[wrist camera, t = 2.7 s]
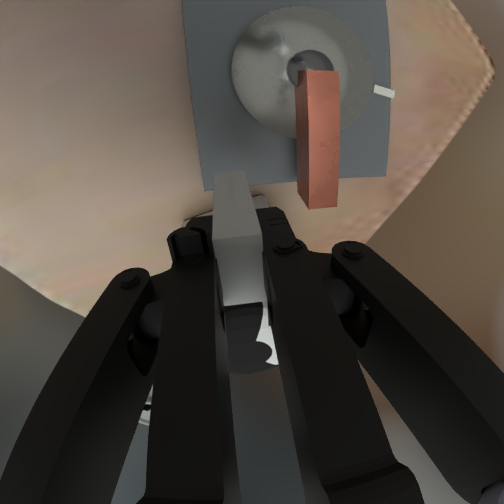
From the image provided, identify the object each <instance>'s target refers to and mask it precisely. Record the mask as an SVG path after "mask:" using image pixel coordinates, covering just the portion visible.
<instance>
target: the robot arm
mask: <svg viewBox="0 0 504 504" xmlns="http://www.w3.org/2000/svg"><path fill="white" fill-rule="evenodd" d="M167 242H168V246H169V250H170V254H171V257H172V261H173V262H172V267H171V269H169V270H167V271H165V272H163V273H160V274H157V275H154V276H151V277H150V275H149V272H148V271H147V270H145V269H143V268H130V269H126V270H124V271H122V272H121V273H119V274H117V275H116V276H115V277H114V278H113V279H112V281H111V282H110V284H109V285H108V286H107V288H106V289H105V291H104V292H103V293H102V295H101V296H100V298H99V299H98V300H97V302H96V303H95V305H94V306H93V308H92V309H91V311H90V312H89V314H88V315H87V317H86V318H85V320H84V321H83V323H82V324H81V326H80V327H79V329H78V330H77V332H76V333H75V335H74V337H73V338H72V340H71V341H70V343H69V344H68V346H67V348H66V350H65V351H64V353H63V354H62V356H61V358H60V359H59V361H58V363H57V364H56V366H55V368H54V370H53V371H52V373H51V375H50V376H49V378H48V380H47V382H46V384H45V385H44V387H43V389H42V391H41V393H40V394H39V396H38V398H37V400H36V402H35V404H34V406H33V408H32V410H31V412H30V414H29V416H28V418H27V420H26V422H25V424H24V426H23V428H22V430H21V432H20V434H19V436H18V439H17V441H16V443H15V445H14V448H13V450H12V452H11V455H10V457H9V459H8V462H7V464H6V467H5V469H4V472H3V474H2V477H1V480H0V504H111V500H112V497H113V494H114V491H115V488H116V485H117V482H118V479H119V476H120V473H121V470H122V467H123V464H124V461H125V458H126V456H127V452H128V450H129V447H130V444H131V441H132V439H133V436H134V433H135V430H136V428H137V425H138V422H139V419H140V417H141V414H142V411H143V409H144V406H145V403H146V401H147V398H148V396H149V393H150V390H151V388H152V385H153V390H152V400H151V410H150V422H149V435H148V451H147V472H146V490H145V494H144V496H143V497H142V498H141V499H140V500H139V501H138V502H137V503H136V504H242V502H241V493H240V484H239V476H238V466H237V456H236V446H235V435H234V425H233V414H232V401H231V389H230V376H229V362H228V348H227V332H226V316H225V311H224V306H230V305H238V304H246V303H254V302H262V301H266V297H267V308H268V326H271V330H272V335H273V340H274V345H275V349H276V354H277V359H278V364H279V369H280V374H281V379H282V383H283V389H284V394H285V398H286V404H287V409H288V414H289V418H290V424H291V429H292V433H293V439H294V444H295V449H296V453H297V459H298V463H299V469H300V474H301V479H302V484H303V488H304V493H305V500H306V504H424V500H423V497H422V494H421V491H420V487H419V484H418V482H417V480H416V478H415V476H414V474H413V473H412V471H411V470H410V469H409V468H408V467H407V466H405V465H403V464H401V463H399V462H398V461H397V460H396V458H395V457H394V455H393V453H392V450H391V447H390V444H389V441H388V438H387V436H386V433H385V430H384V427H383V425H382V422H381V419H380V416H379V414H378V411H377V408H376V406H375V403H374V401H373V398H372V395H371V393H370V390H369V388H368V385H367V383H366V380H365V378H364V375H363V373H362V370H361V368H360V365H359V363H358V360H359V362H360V363H361V365H362V366H363V367H364V368H365V370H366V371H367V372H368V374H369V375H370V376H371V378H372V379H373V380H374V382H375V383H376V384H377V386H378V387H379V388H380V390H381V391H382V392H383V394H384V395H385V397H386V398H387V399H388V400H389V402H390V403H391V405H392V406H393V407H394V409H395V410H396V411H397V413H398V414H399V415H400V417H401V418H402V419H403V421H404V422H405V424H406V425H407V426H408V428H409V429H410V430H411V432H412V433H413V435H414V436H415V437H416V439H417V440H418V441H419V443H420V444H421V446H422V447H423V448H424V450H425V451H426V453H427V454H428V455H429V457H430V458H431V460H432V461H433V462H434V464H435V465H436V467H437V468H438V469H439V471H440V472H441V473H442V475H443V476H444V478H445V479H446V481H447V482H448V483H449V484H450V485H451V487H452V488H453V489H454V491H455V492H456V493H458V494H459V495H460V496H461V497H462V498H463V499H464V500H465V501H467V502H469V503H470V504H504V373H503V372H502V371H501V370H500V369H499V368H498V367H497V366H496V365H495V363H494V362H493V361H492V360H491V359H490V358H489V357H488V356H487V355H486V354H485V353H484V352H483V351H482V350H481V349H480V348H479V347H478V346H477V345H476V344H475V342H473V340H471V339H470V337H469V336H467V334H466V333H465V332H464V331H462V330H461V329H460V327H458V326H457V325H456V324H455V323H454V322H453V321H452V320H451V319H450V318H449V317H448V316H447V315H446V314H445V313H444V312H443V311H442V310H441V309H439V308H438V307H437V306H436V305H435V304H434V303H433V302H432V301H431V300H430V299H429V298H428V297H426V295H424V294H423V293H422V292H421V291H420V290H419V289H418V288H417V287H415V286H414V285H413V284H412V283H411V282H410V281H408V279H406V278H405V277H404V276H403V275H402V274H400V273H399V272H398V271H397V270H396V269H395V268H394V267H392V266H391V265H390V264H389V263H388V262H386V261H385V260H384V259H383V258H381V257H380V256H379V255H378V254H377V253H375V252H374V251H373V250H372V249H371V248H370V247H368V246H366V245H365V244H363V243H359V242H357V241H343V242H339V243H337V244H335V245H334V247H333V248H332V254H330V253H318V252H312V251H309V250H308V249H307V247H306V245H305V244H304V243H303V242H302V241H301V240H299V239H297V238H296V237H295V235H294V233H293V231H292V229H291V227H290V224H289V222H288V220H287V219H286V216H285V214H284V212H283V211H282V210H280V209H279V208H277V207H269V208H259V209H255V206H254V203H253V199H252V196H251V192H250V189H249V185H248V182H247V178H246V174H245V171H244V170H241V171H232V172H223V173H215V174H214V197H213V215H208V216H201V217H193V218H191V219H190V220H189V222H188V223H187V224H186V227H182V228H179V229H177V230H175V231H173V232H172V233H171V234H169V236H168V238H167ZM223 303H224V306H223ZM357 359H358V360H357Z"/></svg>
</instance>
